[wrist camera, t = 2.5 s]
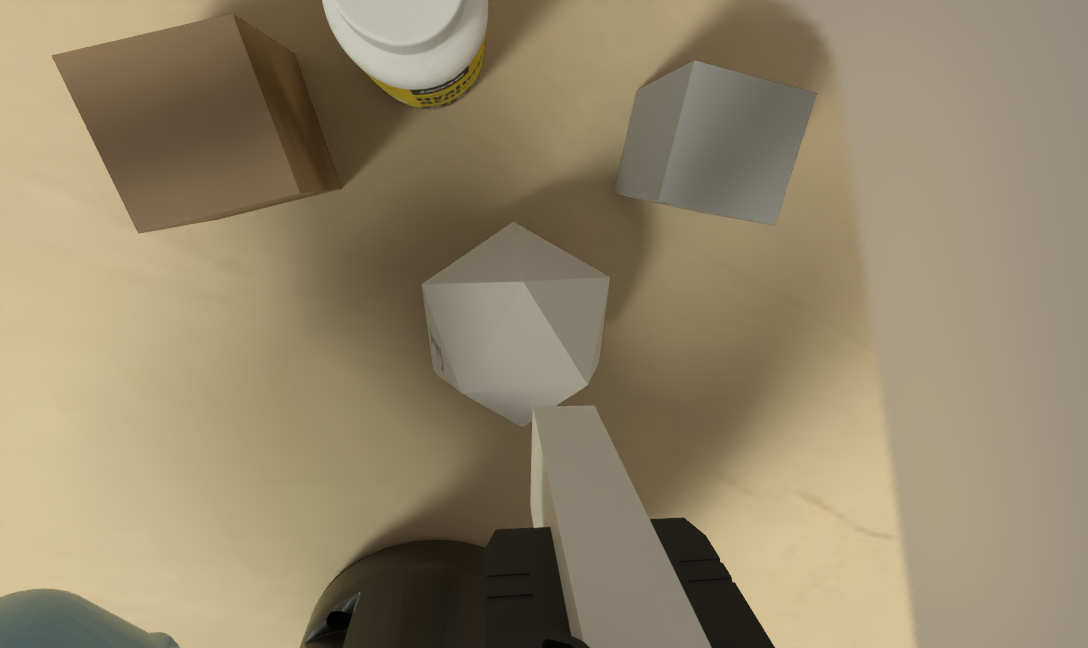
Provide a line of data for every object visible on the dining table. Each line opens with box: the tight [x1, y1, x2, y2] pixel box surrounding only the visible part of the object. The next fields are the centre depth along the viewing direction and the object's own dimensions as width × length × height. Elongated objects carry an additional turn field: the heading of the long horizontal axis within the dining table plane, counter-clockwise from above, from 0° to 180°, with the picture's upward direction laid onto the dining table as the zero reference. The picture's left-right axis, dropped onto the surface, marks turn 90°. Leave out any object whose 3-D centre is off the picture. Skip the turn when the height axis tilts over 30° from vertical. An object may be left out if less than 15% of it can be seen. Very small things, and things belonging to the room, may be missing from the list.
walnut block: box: [52, 14, 342, 233], centre depth 21 cm, size 6×6×6 cm
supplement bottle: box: [322, 0, 488, 110], centre depth 18 cm, size 5×5×10 cm
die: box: [421, 222, 610, 427], centre depth 23 cm, size 8×9×10 cm
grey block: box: [613, 60, 817, 225], centre depth 23 cm, size 5×5×7 cm
